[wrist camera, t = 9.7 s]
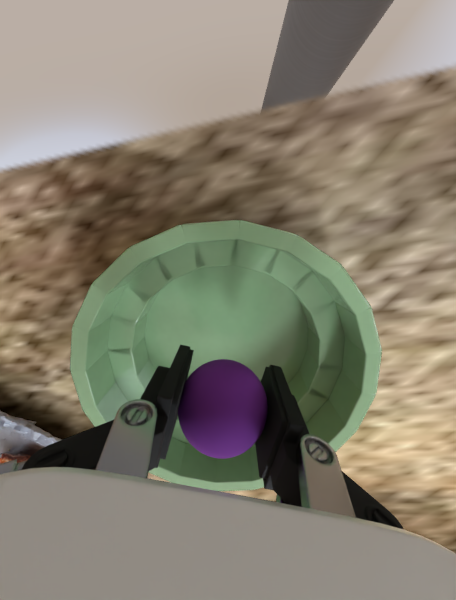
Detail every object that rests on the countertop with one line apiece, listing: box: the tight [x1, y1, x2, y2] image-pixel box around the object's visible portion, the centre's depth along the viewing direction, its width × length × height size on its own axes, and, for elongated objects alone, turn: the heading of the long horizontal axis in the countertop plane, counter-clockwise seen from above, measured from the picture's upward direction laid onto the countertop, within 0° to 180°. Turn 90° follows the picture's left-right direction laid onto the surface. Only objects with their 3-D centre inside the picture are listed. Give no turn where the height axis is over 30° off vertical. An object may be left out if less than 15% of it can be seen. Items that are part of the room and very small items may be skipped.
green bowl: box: [70, 220, 382, 491], centre depth 14 cm, size 16×16×5 cm
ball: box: [178, 359, 268, 459], centre depth 10 cm, size 4×4×4 cm
